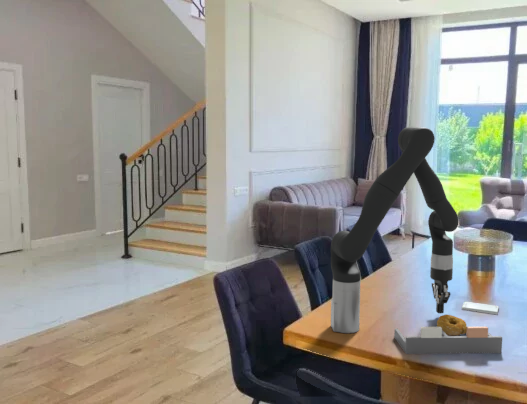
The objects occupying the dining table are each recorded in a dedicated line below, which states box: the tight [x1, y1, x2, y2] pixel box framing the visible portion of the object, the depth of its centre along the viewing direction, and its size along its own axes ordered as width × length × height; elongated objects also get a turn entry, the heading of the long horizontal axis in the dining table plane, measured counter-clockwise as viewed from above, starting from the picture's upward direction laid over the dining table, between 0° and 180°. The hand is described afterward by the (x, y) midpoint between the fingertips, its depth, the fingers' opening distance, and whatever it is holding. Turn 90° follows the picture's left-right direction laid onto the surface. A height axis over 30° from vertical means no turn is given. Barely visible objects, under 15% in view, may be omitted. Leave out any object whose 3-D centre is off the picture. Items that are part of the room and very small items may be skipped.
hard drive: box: [461, 301, 500, 316], centre depth 198 cm, size 2×8×12 cm
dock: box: [393, 326, 503, 355], centre depth 163 cm, size 29×13×8 cm, turn 91°
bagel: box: [436, 314, 468, 336], centre depth 175 cm, size 10×11×5 cm
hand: (439, 312), depth 189 cm, fingers closed
